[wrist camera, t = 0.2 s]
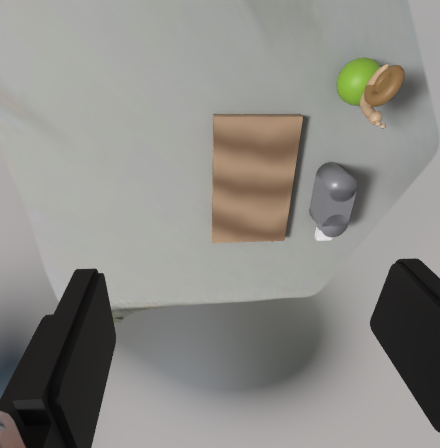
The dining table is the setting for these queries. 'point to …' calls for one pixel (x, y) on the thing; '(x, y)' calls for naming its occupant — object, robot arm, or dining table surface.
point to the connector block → (332, 200)
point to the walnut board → (253, 175)
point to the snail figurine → (369, 86)
